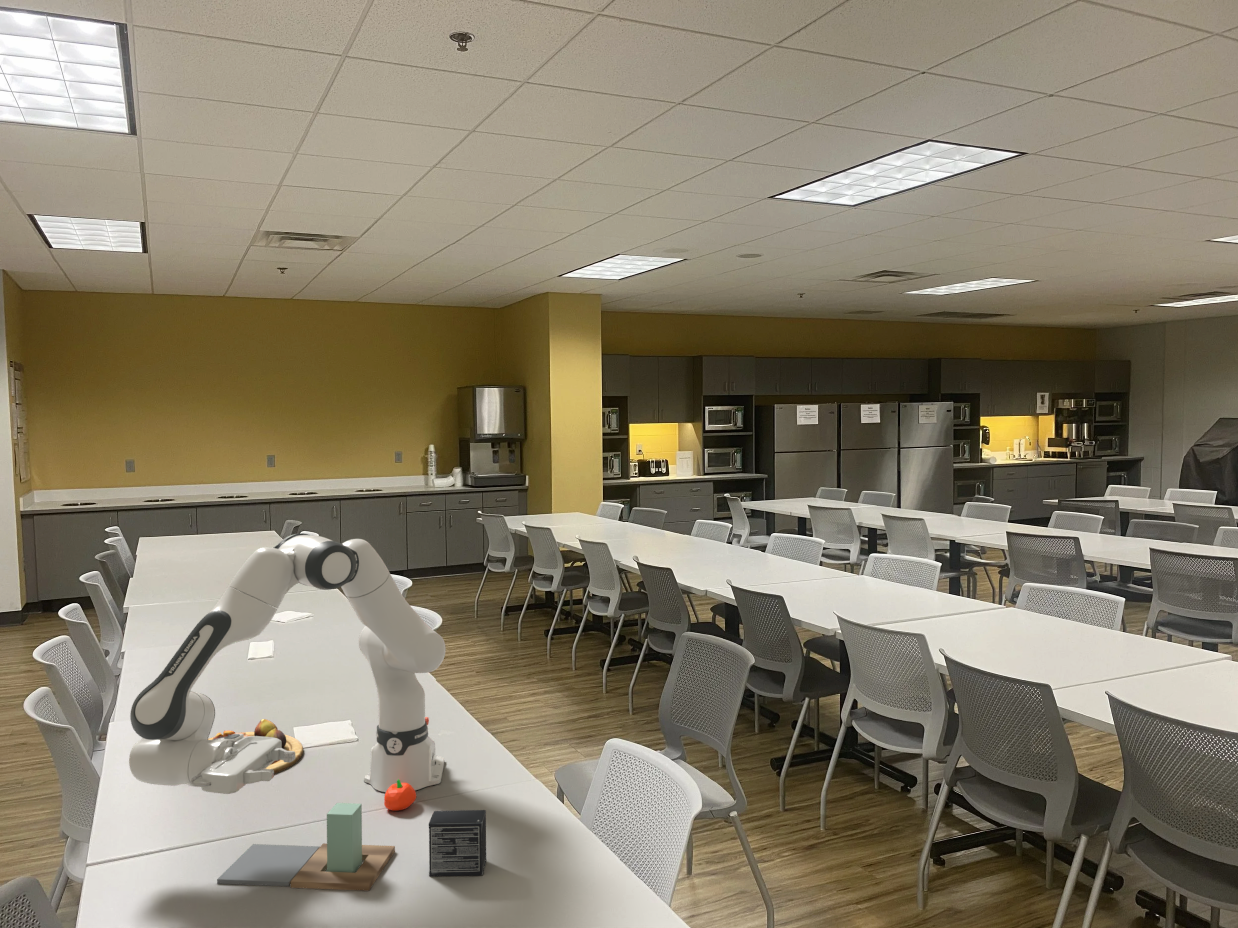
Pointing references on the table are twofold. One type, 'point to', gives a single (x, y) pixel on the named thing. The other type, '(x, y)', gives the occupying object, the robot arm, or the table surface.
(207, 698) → the robot arm
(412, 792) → the pumpkin
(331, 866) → the green block
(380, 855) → the pocket board
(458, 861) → the small box
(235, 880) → the rubber mat
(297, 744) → the wooden plate with food
